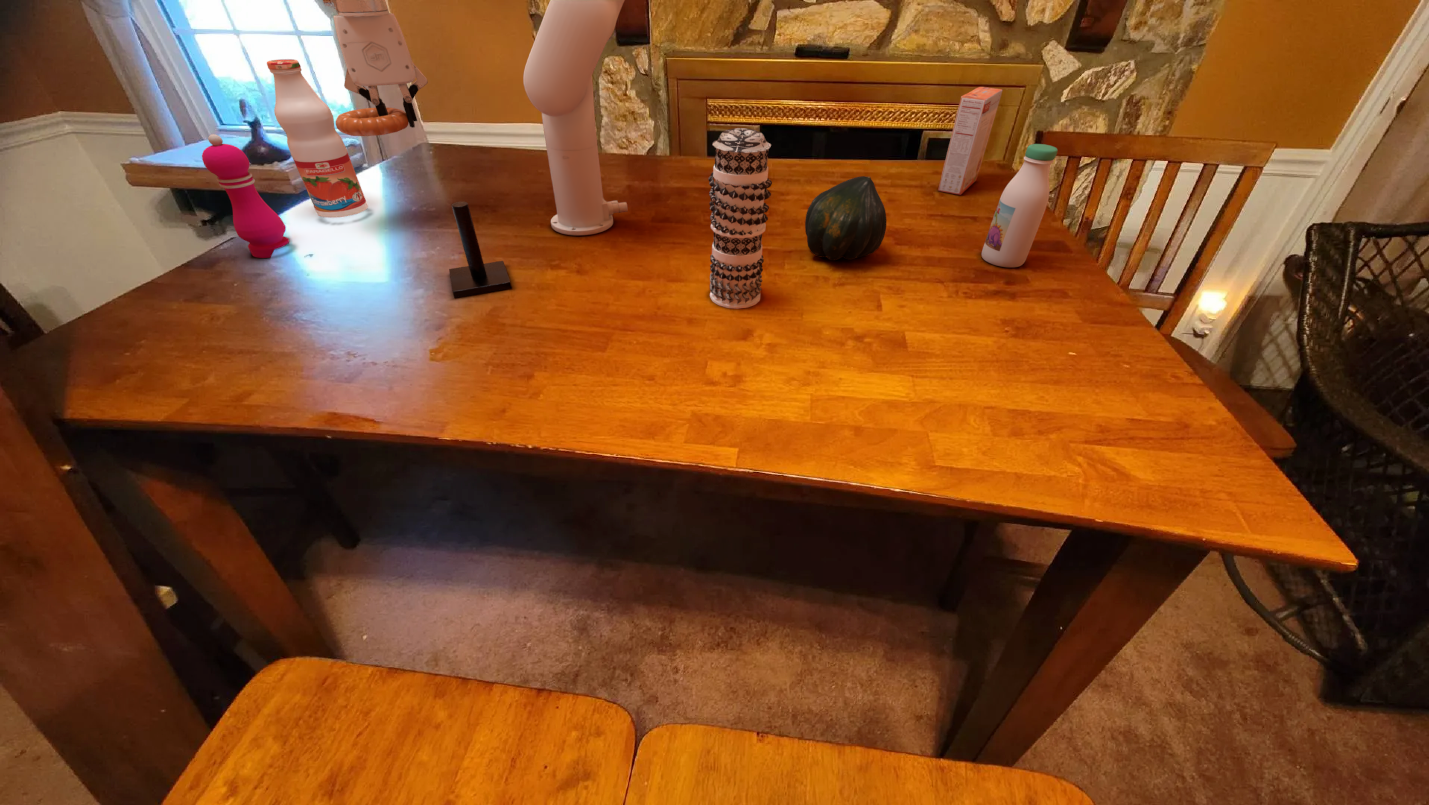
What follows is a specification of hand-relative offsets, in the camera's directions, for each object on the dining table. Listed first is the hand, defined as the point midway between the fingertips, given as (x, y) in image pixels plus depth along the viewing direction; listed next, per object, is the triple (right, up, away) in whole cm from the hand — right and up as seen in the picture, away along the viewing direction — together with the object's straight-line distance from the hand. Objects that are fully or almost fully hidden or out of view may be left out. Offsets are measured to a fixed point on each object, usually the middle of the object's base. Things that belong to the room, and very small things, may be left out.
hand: (401, 125), depth 102 cm
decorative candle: (+61, -33, -10) cm, 70 cm away
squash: (+82, -23, +4) cm, 85 cm away
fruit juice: (-20, -12, +15) cm, 28 cm away
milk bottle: (+112, -24, +3) cm, 115 cm away
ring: (-4, 0, -2) cm, 4 cm away
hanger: (+18, -30, -7) cm, 36 cm away
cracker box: (+118, +3, +36) cm, 124 cm away
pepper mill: (-24, -23, +1) cm, 33 cm away
